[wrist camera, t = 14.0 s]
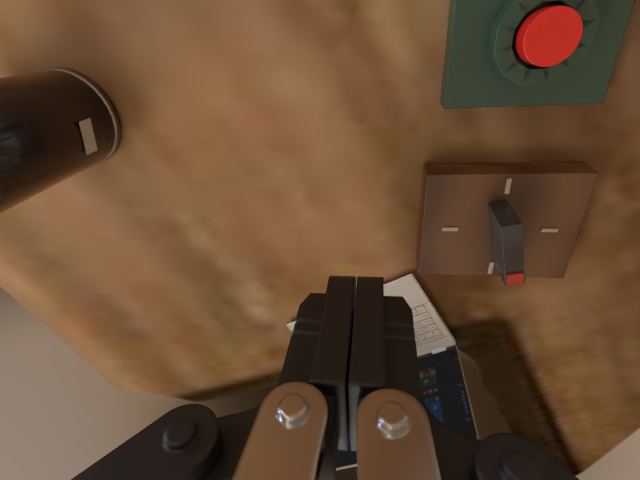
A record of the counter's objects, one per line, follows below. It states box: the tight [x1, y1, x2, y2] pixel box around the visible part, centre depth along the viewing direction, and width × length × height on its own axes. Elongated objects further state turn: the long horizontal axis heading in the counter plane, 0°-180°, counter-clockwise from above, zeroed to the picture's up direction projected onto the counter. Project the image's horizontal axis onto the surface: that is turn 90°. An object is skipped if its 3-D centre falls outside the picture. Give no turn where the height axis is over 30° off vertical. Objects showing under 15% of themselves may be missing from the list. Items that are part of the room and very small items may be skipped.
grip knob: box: [488, 200, 525, 285], centre depth 33 cm, size 6×2×5 cm, turn 16°
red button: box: [516, 6, 583, 67], centre depth 25 cm, size 4×4×2 cm
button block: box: [440, 0, 635, 109], centre depth 27 cm, size 12×10×4 cm
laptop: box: [287, 274, 479, 470], centre depth 42 cm, size 18×12×13 cm
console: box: [416, 161, 599, 278], centre depth 36 cm, size 14×11×3 cm
